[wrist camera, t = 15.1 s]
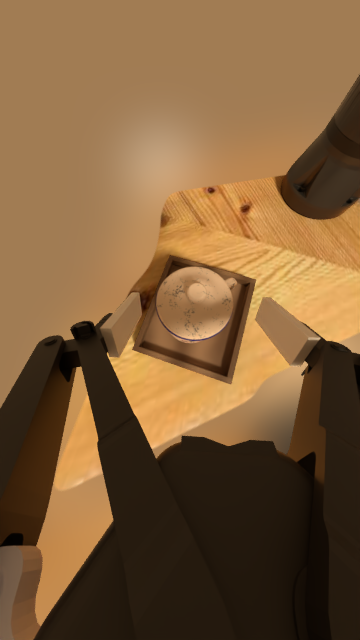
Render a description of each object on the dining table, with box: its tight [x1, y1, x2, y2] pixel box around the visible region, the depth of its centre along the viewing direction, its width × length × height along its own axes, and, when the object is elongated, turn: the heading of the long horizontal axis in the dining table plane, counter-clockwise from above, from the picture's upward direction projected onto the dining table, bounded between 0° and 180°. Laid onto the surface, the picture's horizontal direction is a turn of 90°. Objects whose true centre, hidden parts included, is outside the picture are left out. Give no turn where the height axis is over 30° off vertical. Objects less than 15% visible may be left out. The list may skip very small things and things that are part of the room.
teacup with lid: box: [156, 267, 237, 343], centre depth 19 cm, size 12×9×12 cm
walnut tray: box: [132, 255, 256, 384], centre depth 25 cm, size 16×18×2 cm
